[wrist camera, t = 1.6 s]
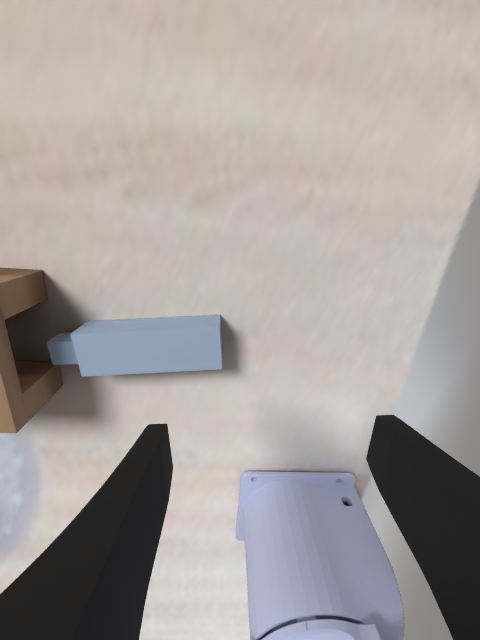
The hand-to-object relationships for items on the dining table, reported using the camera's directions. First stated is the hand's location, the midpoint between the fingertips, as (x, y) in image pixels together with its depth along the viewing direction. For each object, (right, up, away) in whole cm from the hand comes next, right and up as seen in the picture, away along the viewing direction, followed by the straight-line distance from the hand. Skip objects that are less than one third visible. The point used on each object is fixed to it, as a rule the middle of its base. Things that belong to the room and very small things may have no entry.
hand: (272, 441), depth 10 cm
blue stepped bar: (-7, +3, +9) cm, 12 cm away
